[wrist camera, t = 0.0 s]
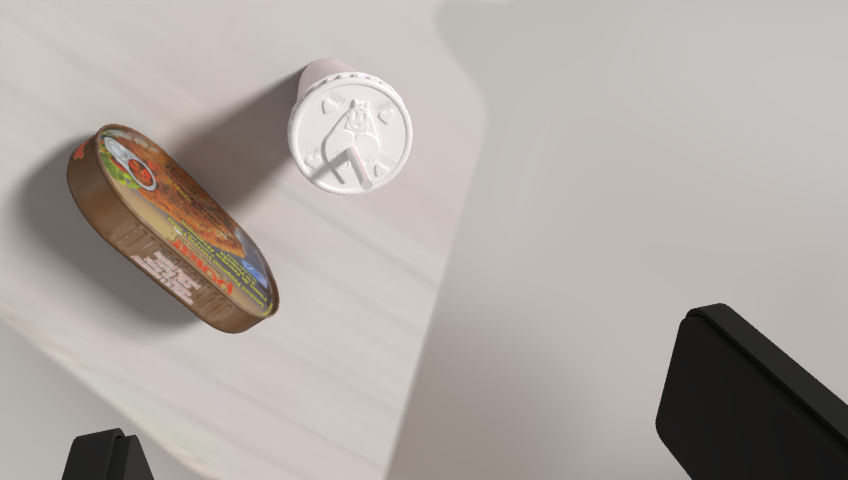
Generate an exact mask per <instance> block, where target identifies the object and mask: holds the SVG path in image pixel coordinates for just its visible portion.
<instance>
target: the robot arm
mask: <svg viewBox="0 0 848 480" xmlns="http://www.w3.org/2000/svg"><path fill="white" fill-rule="evenodd" d="M655 424H656V430H657V433H658V435H659V437H660V439H661V440H662V442H663V443H664V444H665V446H666V447H667V448H668V449H669V451H670V452H671V453H672V455H673V456H674V457H675V458H676V460H677V461H678V462H679V464H680V465H681V466H682V467H683V469H684V470H685V471H686V472H687V474H688V475H689V476H690V477H691V479H692V480H848V405H847V404H846V403H844V402H843V401H842V400H841V399H840V398H838V397H837V396H836V395H834V393H832V392H831V391H830V390H829V389H828V388H826V387H825V386H824V385H823V384H822V383H820V382H819V381H818V380H817V379H815V378H814V377H813V376H812V375H811V374H810V373H808V372H807V371H806V370H805V369H804V368H802V367H801V366H800V365H799V364H798V363H796V362H795V361H794V360H793V359H792V358H790V357H789V356H788V355H787V354H786V353H784V352H783V351H782V350H781V349H779V348H778V347H777V346H776V345H775V344H774V343H772V342H771V341H770V340H769V339H768V338H766V337H765V336H764V335H763V334H761V333H760V332H759V331H758V330H757V329H755V328H754V327H753V326H752V325H751V324H750V323H748V322H747V321H746V320H745V319H744V318H742V317H741V316H740V315H739V314H738V313H736V312H735V311H734V310H733V309H732V308H730V307H729V306H727V305H726V304H722V303H718V304H713V305H708V306H703V307H699V308H694V309H691V310H690V311H689V312H688V313H687V315H686V317H685V319H683V320H682V321H681V323H680V326H679V330H678V334H677V338H676V342H675V345H674V349H673V353H672V357H671V361H670V366H669V369H668V373H667V377H666V381H665V385H664V389H663V393H662V397H661V401H660V405H659V409H658V413H657V417H656V423H655ZM62 480H154V478H153V476H152V473H151V470H150V468H149V465H148V462H147V460H146V457H145V455H144V452H143V449H142V447H141V444H140V442H139V439H138V437H137V436H136V435H132V436H126V437H125V435H124V433H123V431H122V430H121V429H120V428H116V429H111V430H106V431H102V432H97V433H92V434H88V435H82V436H78V437H76V438H75V439H74V441H73V443H72V446H71V449H70V453H69V456H68V459H67V463H66V466H65V470H64V473H63V476H62Z"/></svg>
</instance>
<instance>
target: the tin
mask: <svg viewBox="0 0 848 480" xmlns="http://www.w3.org/2000/svg"><path fill="white" fill-rule="evenodd" d="M67 182H68V185H69V189H70V192H71V194H72V196H73V199H74V200H75V202H76V204H77V206H78V208H79V209H80V211H81V213H82V214H83V216H84V217H85V218H86V220H87V221H88V222H89V223H90V225H91V226H92V227H93V228H94V229H95V230H96V231H97V233H98V234H99V235H100V236H101V237H102V238H103V239H104V240H105V241H106V242H108V243H109V244H110V245H111V246H112V247H114V248H115V249H116V250H117V251H118V252H120V253H121V254H122V255H123V256H124V257H126V258H127V259H128V260H129V261H130V262H132V263H133V264H134V265H135V266H137V267H138V268H139V269H140V270H141V271H143V272H144V273H145V274H146V275H147V276H149V277H150V278H151V279H152V280H153V281H155V282H156V283H157V284H158V285H160V286H161V287H162V288H163V289H164V290H166V291H167V292H168V293H169V294H171V295H172V296H173V297H174V298H176V299H177V300H178V301H179V302H181V303H182V304H183V305H184V306H185V307H187V308H188V309H189V310H190V311H192V312H193V313H194V314H195V315H196V316H198V317H199V318H200V319H202V320H203V321H204V322H205V323H207V324H209V325H210V326H212V327H213V328H215V329H217V330H220V331H222V332H225V333H232V334H236V333H241V332H244V331H246V330H248V329H249V328H251V327H253V326H254V325H256V324H258V323H259V322H261V321H262V320H264V319H265V318H269V317H271V316H273V315H274V314H275V313H276V312H277V310H278V307H279V293H278V288H277V285H276V282H275V279H274V277H273V274H272V272H271V270H270V267H269V265H268V263H267V261H266V260H265V258H264V256H263V254H262V253H261V251H260V250H259V248H258V247H257V246H256V244H255V243H254V242H253V240H252V239H251V238H250V237H249V236H248V235H247V233H246V232H245V231H244V230H243V229H242V228H241V227H240V226H239V225H238V224H237V223H236V222H235V221H234V220H233V219H232V218H231V217H230V216H229V215H228V214H227V213H226V212H225V211H224V210H223V209H222V208H221V207H220V206H219V205H218V204H217V203H216V202H215V201H214V200H213V199H212V198H211V197H210V196H209V195H208V194H207V193H206V192H205V191H204V190H203V189H202V188H201V187H200V186H199V185H198V184H197V183H196V182H195V181H194V180H193V179H192V178H191V177H190V176H189V175H188V174H187V173H186V172H185V171H184V170H183V169H182V168H181V167H180V166H179V165H178V164H177V163H176V162H175V161H174V160H173V159H172V158H171V157H170V156H169V155H168V154H167V153H166V152H165V151H164V150H162V149H161V148H160V147H159V146H158V145H157V144H156V143H154V142H153V141H151V140H150V139H149V138H147V137H146V136H144V135H143V134H141V133H139V132H137V131H136V130H134V129H132V128H129V127H126V126H123V125H118V124H109V125H105V126H103V127H102V128H100V130H99V131H98V132H97V134H96V135H94V136H93V137H92V138H90V139H89V140H87V141H86V142H84V143H83V144H82V145H80V146H79V147H78V148H77V149H76V150H75V151H74V152H73V153H72V155H71V157H70V159H69V163H68V167H67Z"/></svg>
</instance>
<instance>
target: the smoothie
mask: <svg viewBox="0 0 848 480" xmlns="http://www.w3.org/2000/svg"><path fill="white" fill-rule="evenodd" d="M412 137H413V131H412V123H411V119H410V116H409V113H408V111H407V109H406V107H405V105H404V103H403V101H402V99H401V98H400V96H399V95H398V94H397V93H396V92H395V91H394V89H393V88H392V87H391V86H389V85H388V84H386V83H385V82H383V81H382V80H381V79H379V78H377V77H374V76H371V75H368V74H365V73H362V72H356V71H355V70H353V69H352V68H350V67H348V66H347V65H345V64H343V63H342V62H340V61H338V60H334V59H320V60H317V61H315V62H313V63H311V64H310V65H308V66H307V67H306V68H305V70H304V71H303V73H302V74H301V77H300V80H299V86H298V94H297V102H296V104H295V105H294V107H293V108H292V111H291V115H290V118H289V122H288V144H289V147H290V151H291V155H292V157H293V159H294V161H295V163H296V165H297V167H298V169H299V170H300V171H301V173H302V174H303V175H304V176H305V177H306V179H308V180H309V181H310V182H311V183H312V184H314V185H315V186H317V187H318V188H320V189H322V190H324V191H327V192H330V193H333V194H338V195H360V194H365V193H368V192H371V191H374V190H376V189H378V188H380V187H382V186H383V185H385V184H386V183H388V182H389V181H390V180H391V179H392V178H394V177H395V176H396V174H397V173H398V172H399V171H400V170H401V168H402V167H403V165H404V164H405V162H406V160H407V158H408V155H409V153H410V149H411V145H412Z"/></svg>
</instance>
